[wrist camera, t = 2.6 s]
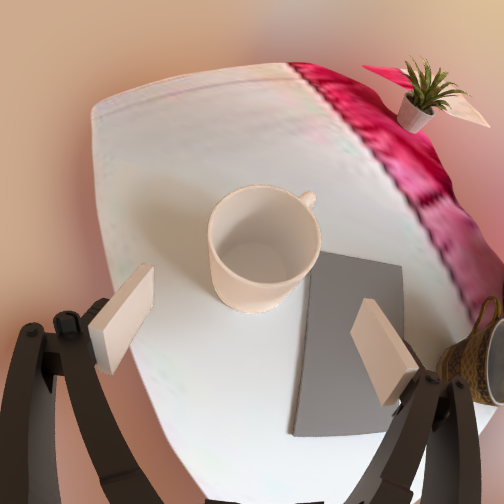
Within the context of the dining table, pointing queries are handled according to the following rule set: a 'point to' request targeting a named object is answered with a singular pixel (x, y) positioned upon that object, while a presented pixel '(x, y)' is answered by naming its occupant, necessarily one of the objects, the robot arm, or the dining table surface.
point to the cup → (261, 246)
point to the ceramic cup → (479, 360)
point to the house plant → (422, 99)
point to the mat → (344, 347)
